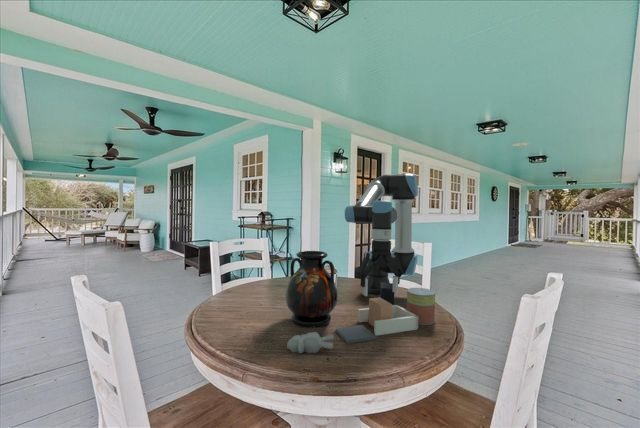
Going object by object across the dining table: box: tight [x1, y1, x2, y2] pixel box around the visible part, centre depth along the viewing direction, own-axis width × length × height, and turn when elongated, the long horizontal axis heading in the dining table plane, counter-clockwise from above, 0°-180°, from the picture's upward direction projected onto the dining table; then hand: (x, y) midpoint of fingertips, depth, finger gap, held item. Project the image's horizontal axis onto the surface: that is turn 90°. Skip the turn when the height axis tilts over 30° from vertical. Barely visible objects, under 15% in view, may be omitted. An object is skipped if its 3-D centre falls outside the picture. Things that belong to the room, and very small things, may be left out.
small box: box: [379, 282, 395, 305], centre depth 142 cm, size 11×6×10 cm, turn 168°
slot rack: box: [357, 304, 419, 337], centre depth 121 cm, size 19×14×5 cm
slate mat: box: [335, 324, 377, 344], centre depth 111 cm, size 11×11×1 cm
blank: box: [368, 297, 393, 327], centre depth 120 cm, size 5×9×10 cm, turn 19°
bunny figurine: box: [286, 331, 335, 354], centre depth 99 cm, size 10×5×15 cm
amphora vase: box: [284, 250, 339, 328], centre depth 125 cm, size 22×22×28 cm
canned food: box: [406, 287, 436, 326], centre depth 127 cm, size 11×11×12 cm
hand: (380, 293), depth 119 cm, fingers open, 13 cm apart
